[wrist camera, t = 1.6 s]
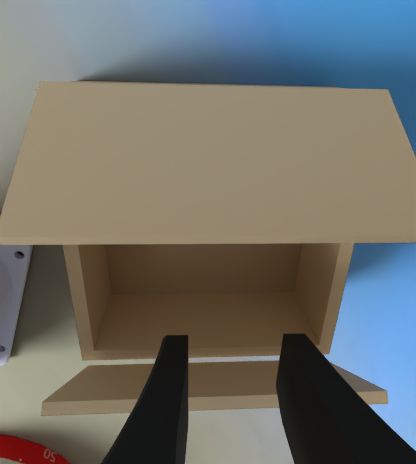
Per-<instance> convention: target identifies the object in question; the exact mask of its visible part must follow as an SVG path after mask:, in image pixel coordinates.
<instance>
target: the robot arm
mask: <svg viewBox="0 0 416 464" xmlns="http://www.w3.org/2000/svg"><path fill="white" fill-rule="evenodd" d="M32 249H33V245H1V244H0V366H2V365H5V364H6V363H7V362H8V360H9V358H10V354H11V349H12V344H13V339H14V335H15V330H16V325H17V320H18V316H19V311H20V306H21V301H22V297H23V292H24V287H25V282H26V278H27V273H28V268H29V263H30V259H31V254H32ZM17 251H21V252H23V254H24V256H21V255H19V254H18V253H17ZM1 346H4V347H1ZM276 391H277V397H278V402H279V408H280V413H281V418H282V423H283V426H284V430H285V433H286V437H287V440H288V443H289V447H290V450H291V454H292V457H293V460H294V464H416V451H415V450H414V449H413V448H412V447H411V446H409V445H408V444H407V443H406V442H405V441H404V440H403V439H402V438H401V437H400V436H399V435H398V434H397V433H396V432H395V431H394V430H392V429H391V428H390V427H389V426H388V425H387V424H386V423H385V422H384V421H383V420H382V419H381V418H380V417H379V416H378V415H377V414H376V413H375V412H374V411H373V410H372V408H371V407H370V406H369V405H368V404H367V403H366V402H365V401H364V400H363V399H362V398H361V397H360V396H359V395H358V394H357V393H356V391H355V390H354V389H353V388H352V387H351V386H350V385H349V384H348V383H347V382H346V381H345V379H344V378H343V377H342V376H341V375H340V374H339V373H338V372H337V370H336V369H335V368H334V367H333V366H332V365H331V364H330V362H329V361H328V360H327V359H326V358H325V357H324V355H323V354H322V353H321V352H320V351H319V349H318V348H317V347H316V346H315V345H314V343H313V342H312V341H311V340H310V339H309V338H308V336H307V335H306V334H305V333H299V334H283V339H282V346H281V353H280V359H279V366H278V372H277V379H276ZM187 432H188V335H166V336H165V337H164V338H163V339H162V343H161V346H160V350H159V353H158V355H157V358H156V361H155V363H154V366H153V368H152V371H151V373H150V375H149V378H148V380H147V382H146V384H145V386H144V388H143V390H142V392H141V394H140V396H139V399H138V401H137V403H136V404H135V406H134V408H133V410H132V412H131V414H130V415H129V417H128V419H127V421H126V423H125V425H124V426H123V428H122V430H121V432H120V434H119V435H118V437H117V439H116V440H115V442H114V444H113V445H112V447H111V449H110V450H109V452H108V454H107V455H106V457H105V458H104V460H103V461H102V463H101V464H185V454H186V443H187Z"/></svg>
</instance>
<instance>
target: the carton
mask: <svg viewBox="0 0 416 464" xmlns="http://www.w3.org/2000/svg"><path fill="white" fill-rule="evenodd" d="M73 82H86V83H130V84H174V85H218V86H263V87H307V88H339V87H330V86H287V85H243V84H199V83H156V82H112V81H73ZM36 93H37V89H36ZM353 248H354V243H272V244H89V245H63V251H64V257H65V263H66V268H67V274H68V280H69V286H70V291H71V297H72V303H73V309H74V315H75V320H76V326H77V332H78V338H79V344H80V349H81V355H82V360H119V359H156V358H157V355H158V353H159V350H160V346H161V343H162V339H163V338H164V337H165V336H166V335H188V358H198V357H237V356H276V355H280V353H281V346H282V339H283V334H299V333H305V334H306V335H307V336H308V338H309V339H310V340H311V341H312V342H313V343H314V345H315V346H316V347H317V348H318V349H319V351H320V352H321V353H322V354H329V353H330V348H331V344H332V339H333V335H334V331H335V326H336V322H337V318H338V313H339V309H340V305H341V300H342V296H343V291H344V287H345V283H346V278H347V274H348V270H349V265H350V261H351V256H352V252H353Z"/></svg>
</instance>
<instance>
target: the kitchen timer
mask: <svg viewBox="0 0 416 464" xmlns="http://www.w3.org/2000/svg"><path fill="white" fill-rule="evenodd" d="M0 464H70V463H69V462H68V461H67V460H66V459H64V458H63V457H62V456H61V455H59V454H57V453H55V452H53V451H52V450H50V449H48V448H46V447H44V446H42V445H40V444H37V443H34V442H31V441H28V440H24V439H21V438H18V437H14V436H6V435H0Z"/></svg>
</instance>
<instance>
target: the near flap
mask: <svg viewBox="0 0 416 464" xmlns="http://www.w3.org/2000/svg"><path fill="white" fill-rule="evenodd" d="M272 243H416V156H415V154H414V151H413V149H412V147H411V144H410V142H409V139H408V137H407V134H406V132H405V130H404V127H403V125H402V122H401V120H400V117H399V115H398V112H397V110H396V108H395V105H394V103H393V100H392V98H391V95H390V93H389V91H388V89H351V88H307V87H263V86H218V85H174V84H130V83H86V82H41V81H40V82H39V86H38V89H37V93H36V96H35V100H34V103H33V106H32V110H31V113H30V117H29V120H28V124H27V127H26V130H25V134H24V137H23V141H22V144H21V147H20V151H19V154H18V158H17V161H16V165H15V168H14V171H13V175H12V178H11V182H10V185H9V188H8V192H7V195H6V199H5V202H4V206H3V209H2V212H1V216H0V244H1V245H89V244H272Z"/></svg>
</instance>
